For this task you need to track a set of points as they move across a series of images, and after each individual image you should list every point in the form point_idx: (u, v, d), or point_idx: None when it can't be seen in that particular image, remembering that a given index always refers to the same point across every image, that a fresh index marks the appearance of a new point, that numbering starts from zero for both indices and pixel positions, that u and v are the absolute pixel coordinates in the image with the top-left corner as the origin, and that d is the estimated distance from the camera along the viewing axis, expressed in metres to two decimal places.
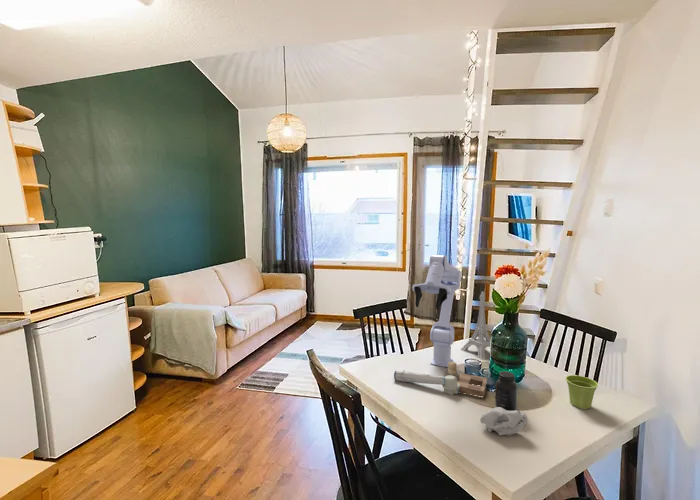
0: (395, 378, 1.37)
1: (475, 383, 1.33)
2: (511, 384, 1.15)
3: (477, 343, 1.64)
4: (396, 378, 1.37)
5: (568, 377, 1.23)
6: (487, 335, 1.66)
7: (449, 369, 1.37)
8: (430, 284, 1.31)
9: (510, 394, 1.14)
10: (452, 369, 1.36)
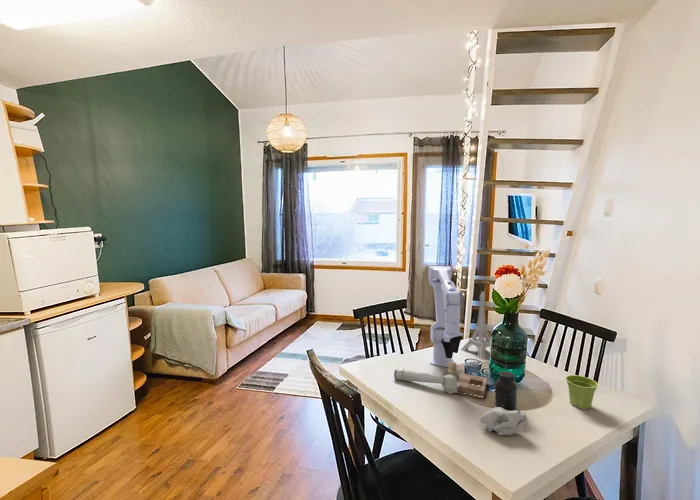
0: (395, 376, 1.38)
1: (475, 383, 1.33)
2: (511, 384, 1.15)
3: (477, 343, 1.64)
4: (396, 376, 1.38)
5: (568, 377, 1.23)
6: (487, 335, 1.66)
7: (449, 369, 1.37)
8: None
9: (510, 394, 1.14)
10: (452, 369, 1.36)
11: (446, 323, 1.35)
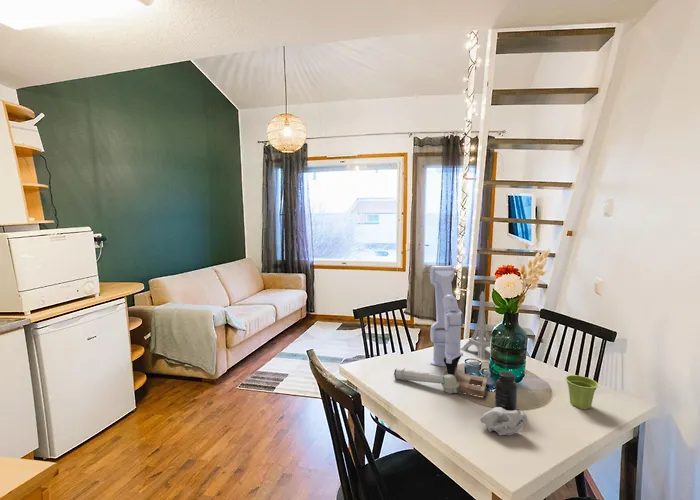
0: (395, 376, 1.38)
1: (475, 383, 1.33)
2: (511, 384, 1.15)
3: (477, 343, 1.64)
4: (396, 376, 1.38)
5: (568, 377, 1.23)
6: (487, 335, 1.66)
7: None
8: None
9: (510, 394, 1.14)
10: None
11: (447, 344, 1.36)
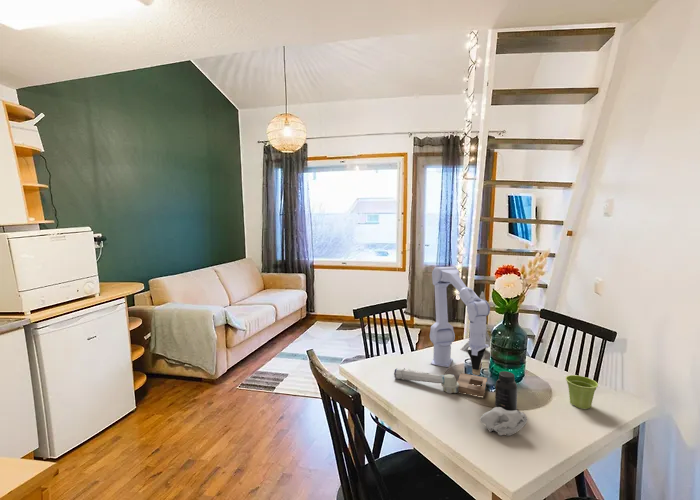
0: (395, 375, 1.39)
1: (475, 383, 1.33)
2: (511, 384, 1.15)
3: None
4: (396, 376, 1.38)
5: (568, 377, 1.23)
6: (487, 335, 1.66)
7: None
8: None
9: (510, 394, 1.14)
10: None
11: (472, 335, 1.28)
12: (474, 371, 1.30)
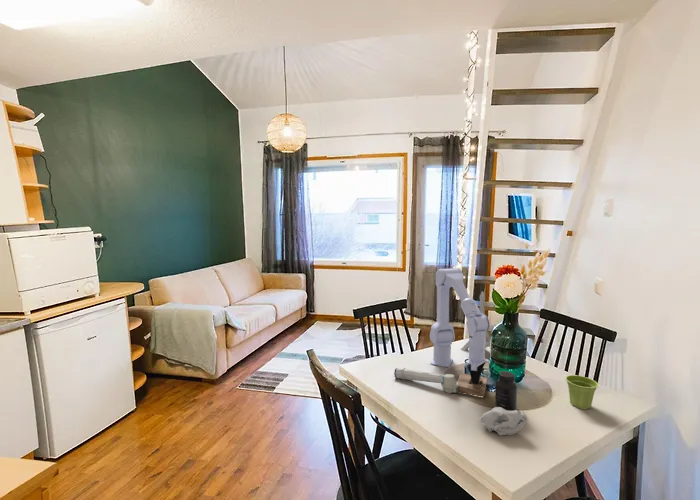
0: (395, 375, 1.39)
1: None
2: (511, 384, 1.15)
3: None
4: (396, 375, 1.39)
5: (568, 377, 1.23)
6: (487, 335, 1.66)
7: None
8: None
9: (510, 394, 1.14)
10: None
11: (471, 349, 1.29)
12: None
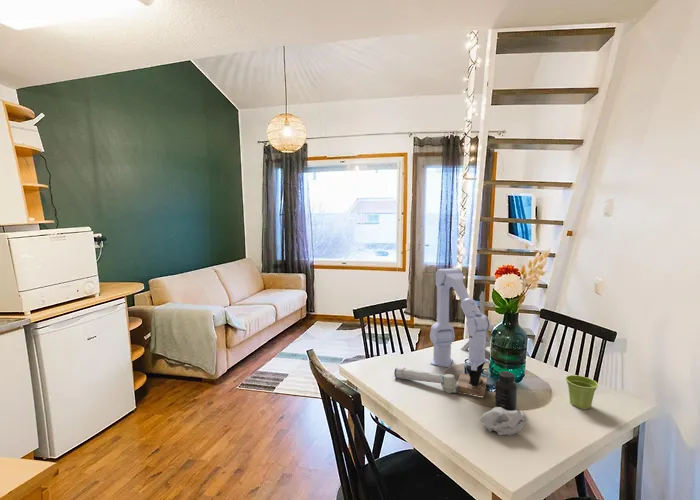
0: (395, 375, 1.39)
1: None
2: (511, 384, 1.15)
3: None
4: (396, 375, 1.39)
5: (568, 377, 1.23)
6: (487, 335, 1.66)
7: None
8: None
9: (510, 394, 1.14)
10: None
11: (471, 349, 1.29)
12: None
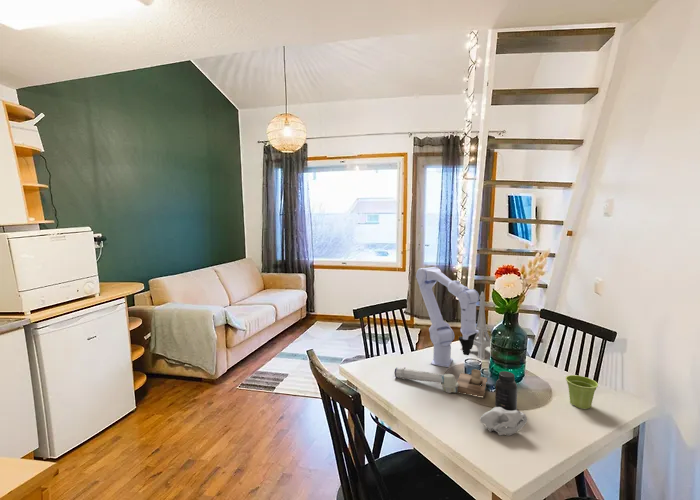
0: (395, 374, 1.40)
1: None
2: (511, 384, 1.15)
3: (477, 343, 1.64)
4: (396, 374, 1.39)
5: (568, 377, 1.23)
6: (487, 335, 1.66)
7: (473, 377, 1.30)
8: None
9: (510, 394, 1.14)
10: (476, 378, 1.29)
11: (463, 321, 1.39)
12: None
